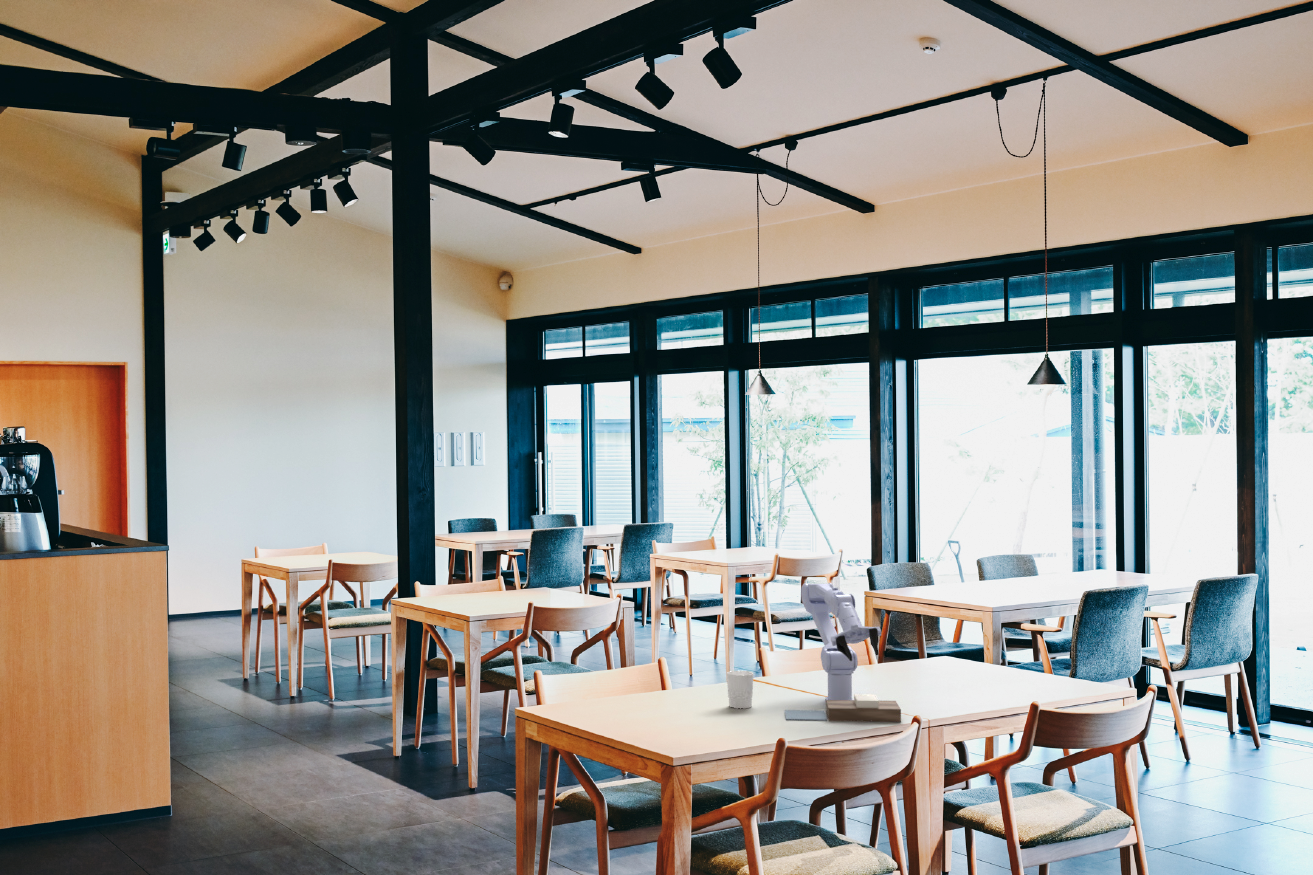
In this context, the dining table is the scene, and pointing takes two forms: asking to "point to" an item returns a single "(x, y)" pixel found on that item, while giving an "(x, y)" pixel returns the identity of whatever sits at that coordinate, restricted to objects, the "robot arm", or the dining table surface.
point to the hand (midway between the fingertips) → (864, 655)
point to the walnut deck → (862, 711)
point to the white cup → (740, 688)
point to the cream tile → (866, 701)
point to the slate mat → (806, 715)
